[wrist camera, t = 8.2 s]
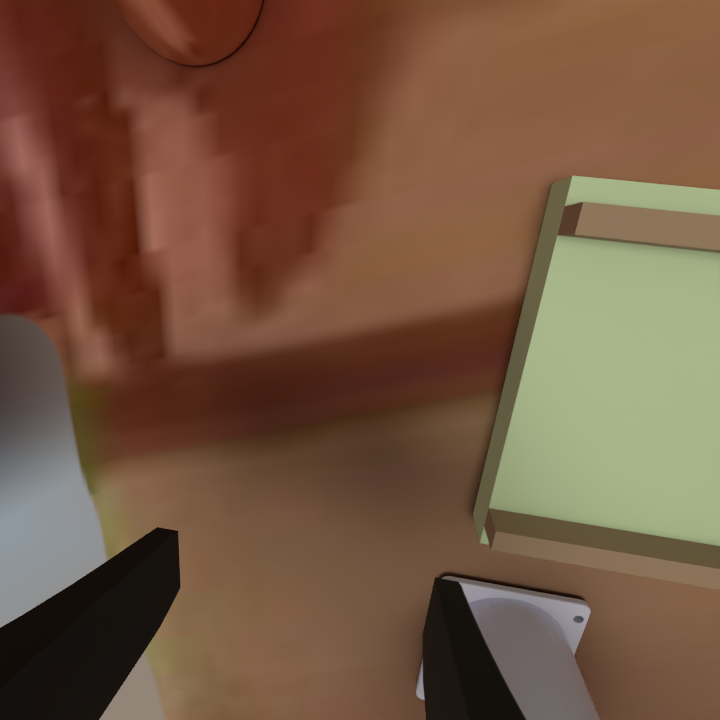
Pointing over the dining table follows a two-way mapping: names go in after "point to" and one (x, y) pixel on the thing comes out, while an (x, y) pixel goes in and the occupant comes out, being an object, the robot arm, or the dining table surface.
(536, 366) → the putting board
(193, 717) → the dining table surface
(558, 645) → the robot arm
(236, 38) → the silver metal tumbler
